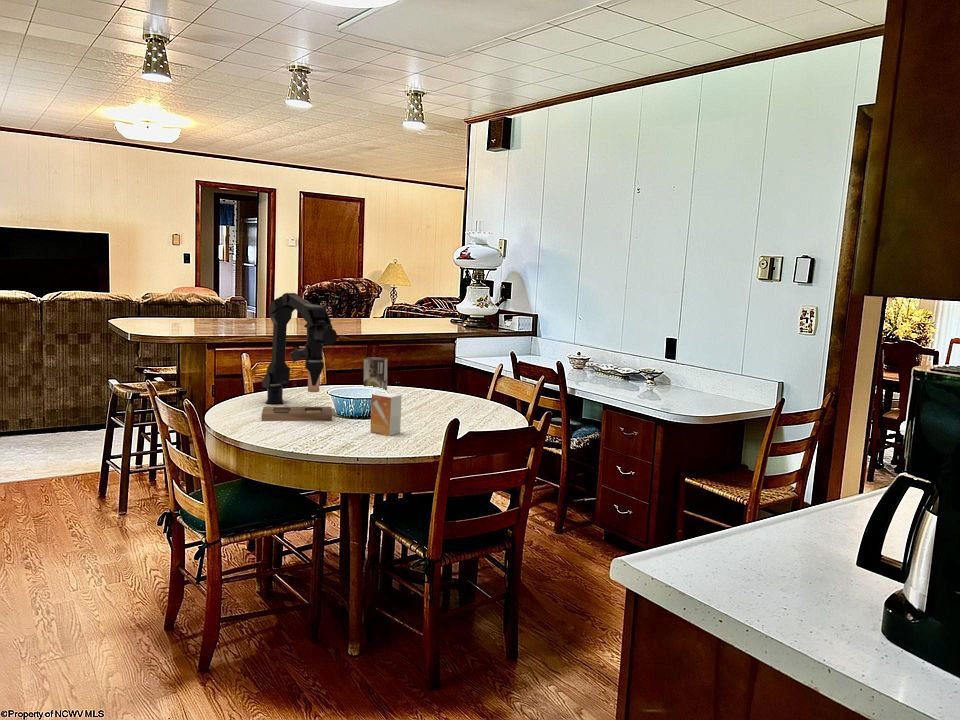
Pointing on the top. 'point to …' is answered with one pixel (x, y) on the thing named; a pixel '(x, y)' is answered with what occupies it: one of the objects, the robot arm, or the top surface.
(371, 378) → the coffee box
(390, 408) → the small box
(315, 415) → the socket board
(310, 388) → the plug
